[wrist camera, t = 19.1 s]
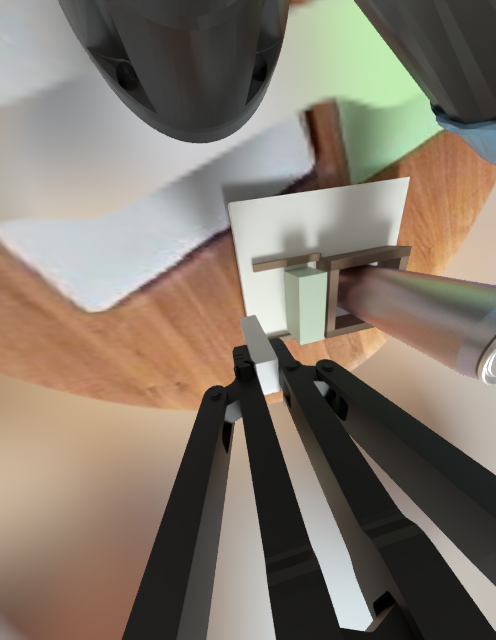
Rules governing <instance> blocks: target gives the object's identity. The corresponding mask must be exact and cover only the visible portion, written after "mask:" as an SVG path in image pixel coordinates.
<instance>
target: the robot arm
mask: <svg viewBox="0 0 496 640" xmlns="http://www.w3.org/2000/svg"><path fill="white" fill-rule="evenodd" d="M354 1H355V3H356V4H357V5H358V6H359V8H360V9H361V10H362V12H363V13H364V14H365V16H366V17H367V18H368V20H369V21H370V22H371V24H372V25H373V26H374V28H375V29H376V30H377V32H378V33H379V34H380V35H381V37H382V38H383V39H384V41H385V42H386V43H387V45H388V46H389V47H390V49H391V50H392V51H393V53H394V54H395V55H396V57H397V58H398V59H399V60H400V62H401V63H402V64H403V66H404V67H405V68H406V70H407V71H408V72H409V74H410V75H411V76H412V78H413V79H414V80H415V82H416V83H417V84H418V86H419V87H420V88H421V90H422V91H423V92H424V93H425V95H426V96H427V97H428V99H429V100H430V105H431V109H432V111H433V113H434V114H435V115H436V121H437V122H438V124H439V125H440V126H441V127H443V128H444V129H446V130H447V131H450V132H453V133H457V134H459V135H460V136H461V137H462V139H463V140H464V141H465V142H466V143H467V144H468V145H469V146H470V147H471V148H472V149H473V150H474V151H475V152H476V153H477V154H478V155H479V156H480V157H481V158H483V159H485V160H486V161H488V162H490V163H491V164H494V165H496V0H354ZM58 2H59V4H60V6H61V8H62V10H63V12H64V14H65V16H66V18H67V20H68V22H69V24H70V26H71V27H72V29H73V31H74V33H75V35H76V36H77V38H78V40H79V41H80V43H81V45H82V46H83V48H84V49H85V51H86V52H87V54H88V55H89V57H90V58H91V60H92V61H93V63H94V64H95V66H96V67H97V69H98V70H99V72H100V73H101V75H102V76H103V78H104V79H105V80H106V82H107V83H108V85H109V86H110V87H111V89H112V90H113V91H114V92H115V94H116V95H117V96H118V97H119V98H120V99H121V100H122V102H123V103H124V104H125V105H126V106H127V107H128V108H129V109H130V110H131V111H132V112H134V114H136V115H137V116H138V117H139V118H140V119H142V120H143V121H144V122H146V123H147V124H148V125H149V126H151V127H152V128H154V129H156V130H157V131H159V132H161V133H163V134H165V135H167V136H169V137H172V138H174V139H177V140H180V141H185V142H190V143H209V142H214V141H218V140H221V139H223V138H226V137H228V136H230V135H231V134H233V133H234V132H236V131H237V130H239V129H240V128H241V127H242V126H243V125H244V124H245V123H246V122H247V121H248V120H249V119H250V118H251V117H252V115H253V114H254V113H255V111H256V110H257V108H258V107H259V105H260V103H261V101H262V99H263V97H264V95H265V93H266V90H267V88H268V86H269V83H270V81H271V78H272V75H273V72H274V70H275V67H276V64H277V61H278V58H279V55H280V51H281V48H282V43H283V39H284V34H285V29H286V23H287V18H288V10H289V0H58ZM240 323H241V328H242V334H243V339H244V344H245V345H243V346H238V347H234V349H233V359H234V365H235V366H234V372H235V376H236V378H235V380H234V381H233V382H232V383H231V384H230V385H228V386H226V387H223V386H220V385H216V386H213V387H211V388H209V389H208V390H207V391H206V392H205V394H204V396H203V399H202V402H201V405H200V408H199V411H198V414H197V417H196V420H195V423H194V426H193V429H192V432H191V435H190V438H189V441H188V444H187V447H186V450H185V453H184V456H183V459H182V462H181V465H180V468H179V471H178V474H177V477H176V480H175V482H174V486H173V488H172V491H171V494H170V498H169V501H168V503H167V506H166V509H165V513H164V515H163V518H162V521H161V524H160V527H159V530H158V533H157V536H156V539H155V542H154V545H153V548H152V551H151V554H150V557H149V560H148V563H147V566H146V569H145V572H144V575H143V578H142V581H141V584H140V587H139V590H138V593H137V596H136V599H135V602H134V605H133V608H132V611H131V613H130V617H129V619H128V623H127V625H126V629H125V632H124V635H123V637H122V640H206V636H207V629H208V622H209V614H210V607H211V599H212V591H213V584H214V576H215V569H216V561H217V553H218V546H219V538H220V530H221V523H222V516H223V507H224V500H225V492H226V485H227V478H228V470H229V461H230V455H231V447H232V439H233V432H234V424H235V421H236V420H238V419H240V418H241V417H242V418H243V425H244V431H245V437H246V444H247V450H248V456H249V462H250V469H251V474H252V481H253V488H254V494H255V500H256V506H257V513H258V519H259V525H260V532H261V538H262V544H263V551H264V557H265V564H266V574H267V582H268V590H269V597H270V603H271V610H272V616H273V623H274V628H275V635H276V640H496V631H495V630H494V629H493V628H492V626H491V625H490V624H489V622H488V621H487V619H486V618H485V616H484V615H483V614H482V612H481V611H480V609H479V608H478V606H477V605H476V604H475V602H474V601H473V599H472V598H471V597H470V595H469V594H468V592H467V591H466V590H465V588H464V587H463V585H462V584H461V582H460V581H459V580H458V578H457V577H456V576H455V574H454V572H453V571H452V570H451V568H450V567H449V565H448V564H447V563H446V561H445V560H444V559H443V557H442V555H441V554H440V553H439V551H438V550H437V549H436V547H435V546H434V544H433V543H432V542H431V540H430V539H429V538H428V537H427V535H426V534H425V533H424V531H423V530H422V529H421V528H420V527H419V526H418V525H417V524H415V523H414V522H412V521H411V520H409V519H408V518H406V517H405V516H404V515H403V514H402V513H401V511H400V510H399V509H398V507H397V506H396V504H395V503H394V501H393V500H392V498H391V497H390V496H389V494H388V492H387V491H386V490H385V488H384V486H383V485H382V483H381V482H380V481H379V479H378V478H377V476H376V474H375V473H374V472H373V470H372V469H371V467H370V466H369V464H368V463H367V461H366V460H365V458H364V457H363V455H362V454H361V452H360V451H359V449H358V448H357V446H356V445H355V443H354V442H353V440H352V439H351V437H352V438H353V439H354V440H355V441H356V442H357V443H358V444H359V445H360V446H361V447H362V448H363V449H364V450H365V451H366V452H367V454H368V455H370V457H371V458H372V459H373V460H374V461H375V462H376V463H377V464H378V465H379V466H380V467H381V468H382V469H383V470H384V471H385V472H386V473H387V474H388V475H389V476H390V478H391V479H393V481H394V482H395V483H396V484H397V485H398V486H399V487H400V488H401V489H402V490H403V491H404V492H405V493H406V494H407V495H408V496H409V497H410V498H411V499H412V501H413V502H414V503H415V504H416V505H418V507H419V508H420V509H421V510H422V511H423V512H424V513H425V514H426V515H427V516H428V517H429V518H430V519H431V520H432V521H433V522H434V523H435V525H437V527H438V528H439V529H440V530H441V531H442V532H443V533H444V534H445V535H446V536H447V537H448V538H449V539H450V540H451V541H452V542H453V543H454V544H455V545H456V546H457V548H458V549H460V551H461V552H462V553H463V554H464V555H465V556H466V557H467V558H468V559H469V560H470V561H471V562H472V563H473V564H474V565H475V566H476V567H477V568H478V569H479V570H480V571H481V572H482V573H483V574H484V575H485V576H486V577H487V578H488V579H489V580H490V581H491V582H492V583H493V584H494V585H495V586H496V475H494V474H493V473H492V472H490V471H489V470H488V469H486V468H485V467H483V466H482V465H480V464H479V463H477V462H476V461H475V460H473V459H472V458H471V457H469V456H468V455H466V454H465V453H463V452H462V451H461V450H459V449H458V448H456V447H455V446H453V445H452V444H451V443H449V442H448V441H446V440H445V439H444V438H442V437H441V436H439V435H438V434H437V433H435V432H434V431H432V430H431V429H429V428H428V427H427V426H425V425H424V424H422V423H421V422H420V421H418V420H417V419H415V418H414V417H412V416H411V415H410V414H408V413H407V412H405V411H404V410H402V409H401V408H400V407H398V406H397V405H395V404H394V403H393V402H391V401H390V400H388V399H387V398H385V397H384V396H383V395H381V394H380V393H378V392H377V391H376V390H374V389H373V388H371V387H370V386H368V385H367V384H366V383H364V382H363V381H361V380H360V379H359V378H357V377H356V376H354V375H353V374H352V373H350V372H349V371H347V370H346V369H344V368H343V367H342V366H340V365H339V364H337V363H336V362H334V361H332V360H328V359H323V360H319V361H318V362H317V363H316V366H306V365H302V364H301V363H300V362H299V361H297V360H295V359H294V358H293V356H292V355H291V353H290V351H289V350H288V348H287V347H286V345H285V344H284V342H283V341H282V340H281V339H279V338H278V337H277V338H272V339H268V338H267V336H266V334H265V332H264V331H263V329H262V327H261V325H260V323H259V321H258V319H257V317H256V315H252V316H247V317H242V318H240ZM280 386H281V387H280ZM281 388H282V390H283V401H284V405H287V407H288V409H289V412H290V414H291V416H292V419H293V421H294V424H295V426H296V428H297V431H298V433H299V435H300V437H301V440H302V443H303V445H304V447H305V450H306V452H307V454H308V457H309V459H310V461H311V464H312V466H313V468H314V471H315V473H316V476H317V478H318V480H319V483H320V485H321V488H322V490H323V492H324V495H325V497H326V499H327V502H328V504H329V507H330V509H331V511H332V514H333V516H334V518H335V520H336V522H337V525H338V528H339V530H340V533H341V535H342V537H343V540H344V542H345V544H346V547H347V549H348V552H349V555H350V558H351V561H352V565H353V569H354V573H355V576H356V579H357V581H358V584H359V587H360V589H361V592H362V594H363V597H364V599H365V601H366V604H367V606H368V609H369V611H370V613H371V616H372V618H373V622H372V623H371V624H370V625H369V627H368V628H367V629H366V630H365V631H358V630H351V629H345V628H340V626H339V623H338V620H337V617H336V614H335V611H334V607H333V604H332V601H331V598H330V595H329V592H328V589H327V586H326V583H325V580H324V577H323V574H322V571H321V568H320V565H319V562H318V560H317V557H316V555H315V553H314V551H313V549H312V546H311V543H310V540H309V537H308V534H307V531H306V528H305V524H304V521H303V518H302V515H301V512H300V508H299V506H298V502H297V499H296V496H295V493H294V489H293V486H292V483H291V480H290V477H289V474H288V470H287V467H286V464H285V461H284V458H283V454H282V451H281V448H280V445H279V442H278V438H277V435H276V432H275V429H274V426H273V423H272V419H271V416H270V413H269V410H268V407H267V403H266V400H265V397H264V395H266V394H270V393H274V392H278V391H281ZM349 435H350V436H351V437H350V436H349Z"/></svg>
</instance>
